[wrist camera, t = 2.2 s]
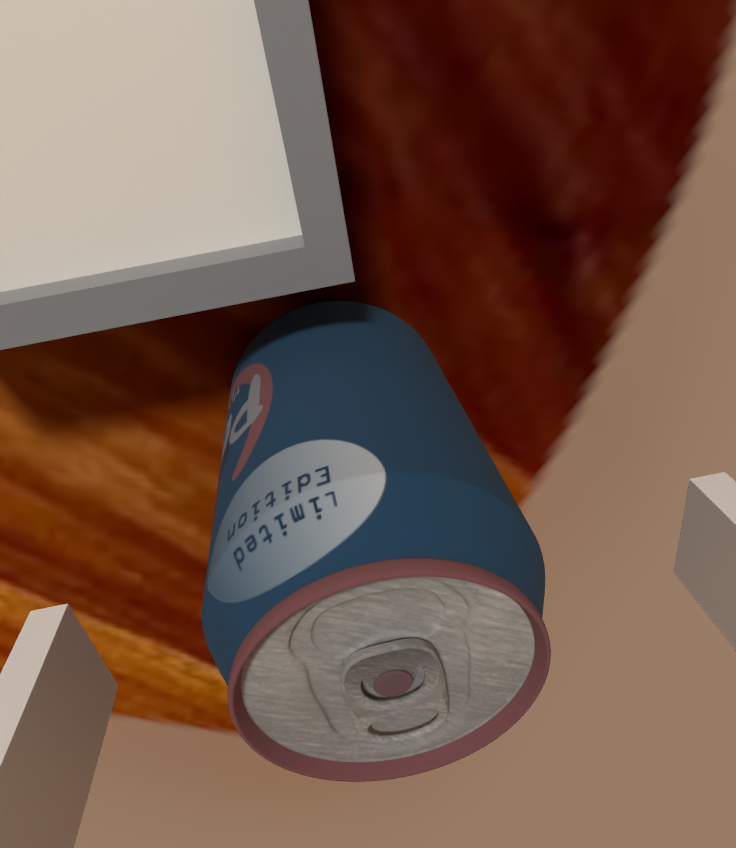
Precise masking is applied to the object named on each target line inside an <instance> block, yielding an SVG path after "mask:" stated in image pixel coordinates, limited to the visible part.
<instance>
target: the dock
mask: <svg viewBox="0 0 736 848" xmlns="http://www.w3.org/2000/svg"><path fill="white" fill-rule="evenodd" d="M354 281H355V277H354V271H353V265H352V259H351V253H350V247H349V241H348V235H347V229H346V223H345V217H344V211H343V205H342V199H341V193H340V187H339V181H338V175H337V169H336V163H335V157H334V151H333V145H332V139H331V133H330V127H329V121H328V115H327V109H326V103H325V97H324V91H323V85H322V79H321V73H320V67H319V61H318V55H317V49H316V43H315V37H314V31H313V25H312V19H311V13H310V7H309V1H308V0H0V350H3V349H8V348H13V347H19V346H24V345H29V344H34V343H39V342H44V341H50V340H55V339H60V338H65V337H70V336H75V335H80V334H86V333H91V332H96V331H101V330H106V329H111V328H117V327H122V326H127V325H132V324H137V323H142V322H148V321H153V320H158V319H163V318H168V317H173V316H178V315H184V314H189V313H194V312H199V311H204V310H209V309H215V308H220V307H225V306H230V305H235V304H240V303H246V302H251V301H256V300H261V299H266V298H271V297H276V296H282V295H287V294H292V293H297V292H302V291H307V290H313V289H318V288H323V287H328V286H333V285H338V284H344V283H349V282H354Z"/></svg>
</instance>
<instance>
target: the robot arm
mask: <svg viewBox="0 0 736 848" xmlns="http://www.w3.org/2000/svg"><path fill="white" fill-rule="evenodd" d="M674 573H675V575H676V576H677V577H678V579H679V580H680V581H681V582H682V584H683V585H684V586H685V587H686V589H687V590H688V591H689V592H690V594H691V595H692V596H693V597H694V599H695V600H696V601H697V603H698V604H699V605H700V606H701V608H702V609H703V610H704V611H705V613H706V614H707V615H708V616H709V618H710V619H711V620H712V622H713V623H714V624H715V625H716V627H717V628H718V629H719V630H720V632H721V633H722V634H723V636H724V637H725V638H726V639H727V641H728V642H729V643H730V644H731V646H732V647H733V648H734V650H735V651H736V482H735V481H734V480H733V479H732V478H731V477H730V476H729V475H727V474H726V473H725V472H723V473H717V474H713V475H708V476H702V477H697V478H692V479H690V480H689V485H688V491H687V497H686V502H685V508H684V514H683V520H682V527H681V532H680V538H679V544H678V549H677V555H676V561H675V567H674ZM117 689H118V685H117V683H116V681H115V680H114V678H113V676H112V675H111V673H110V671H109V670H108V668H107V667H106V665H105V663H104V662H103V660H102V658H101V657H100V655H99V654H98V652H97V650H96V649H95V647H94V645H93V644H92V642H91V640H90V639H89V637H88V636H87V634H86V632H85V631H84V629H83V627H82V626H81V624H80V622H79V621H78V619H77V618H76V616H75V614H74V613H73V611H72V609H71V608H70V606H69V604H64V605H59V606H54V607H49V608H44V609H39V610H34V611H30V613H29V616H28V618H27V620H26V622H25V624H24V626H23V628H22V630H21V632H20V634H19V636H18V638H17V641H16V643H15V645H14V647H13V649H12V651H11V653H10V655H9V657H8V659H7V661H6V663H5V666H4V668H3V670H2V672H1V674H0V848H74V844H75V841H76V837H77V834H78V830H79V826H80V823H81V819H82V815H83V812H84V808H85V804H86V801H87V797H88V794H89V790H90V786H91V783H92V779H93V776H94V772H95V768H96V765H97V761H98V757H99V754H100V750H101V747H102V743H103V739H104V736H105V732H106V729H107V725H108V721H109V718H110V714H111V710H112V707H113V703H114V700H115V696H116V692H117Z"/></svg>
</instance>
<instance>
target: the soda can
mask: <svg viewBox="0 0 736 848" xmlns="http://www.w3.org/2000/svg"><path fill="white" fill-rule="evenodd" d="M544 593H545V568H544V562H543V556H542V552H541V549H540V546H539V544H538V541H537V539H536V537H535V535H534V533H533V532H532V530H531V528H530V526H529V524H528V523H527V521H526V519H525V517H524V516H523V514H522V512H521V510H520V508H519V507H518V505H517V503H516V501H515V500H514V498H513V496H512V494H511V493H510V491H509V489H508V487H507V485H506V484H505V482H504V480H503V478H502V477H501V475H500V473H499V471H498V469H497V468H496V466H495V464H494V462H493V461H492V459H491V457H490V455H489V454H488V452H487V450H486V448H485V446H484V445H483V443H482V441H481V439H480V438H479V436H478V434H477V432H476V431H475V429H474V427H473V425H472V423H471V422H470V420H469V418H468V416H467V415H466V413H465V411H464V409H463V407H462V406H461V404H460V402H459V400H458V399H457V397H456V395H455V393H454V392H453V390H452V388H451V386H450V384H449V383H448V381H447V379H446V377H445V376H444V374H443V372H442V370H441V368H440V367H439V365H438V363H437V361H436V360H435V358H434V356H433V354H432V353H431V351H430V349H429V347H428V346H427V344H426V343H425V341H424V340H423V339H422V338H421V336H420V335H419V334H418V333H417V332H416V331H415V330H414V329H413V328H412V327H411V326H410V325H408V324H407V323H406V322H405V321H403V320H402V319H400V318H399V317H397V316H395V315H394V314H392V313H390V312H388V311H386V310H384V309H381V308H378V307H376V306H372V305H369V304H364V303H359V302H352V301H327V302H320V303H315V304H311V305H307V306H304V307H301V308H298V309H295V310H293V311H291V312H289V313H287V314H285V315H283V316H281V317H279V318H278V319H276V320H275V321H273V322H272V323H270V324H269V325H268V326H267V327H265V328H264V329H263V330H262V331H261V332H260V333H259V334H258V335H257V336H256V337H255V338H254V339H253V340H252V341H251V343H250V344H249V345H248V347H247V348H246V350H245V351H244V353H243V354H242V356H241V358H240V360H239V362H238V364H237V366H236V369H235V372H234V375H233V379H232V383H231V390H230V398H229V405H228V413H227V421H226V428H225V436H224V444H223V451H222V459H221V467H220V474H219V482H218V490H217V497H216V505H215V513H214V520H213V528H212V536H211V543H210V551H209V559H208V567H207V574H206V582H205V590H204V597H203V605H202V627H203V632H204V637H205V640H206V643H207V646H208V649H209V651H210V653H211V655H212V657H213V659H214V661H215V663H216V665H217V667H218V669H219V671H220V673H221V674H222V676H223V678H224V680H225V682H226V684H227V685H228V706H229V712H230V716H231V718H232V721H233V723H234V725H235V727H236V729H237V731H238V732H239V734H240V736H241V737H242V738H243V739H244V741H245V742H246V743H247V744H248V745H249V746H250V747H251V748H252V749H253V750H254V751H256V752H257V753H258V754H259V755H261V756H262V757H264V758H265V759H267V760H269V761H270V762H272V763H273V764H275V765H278V766H280V767H282V768H284V769H287V770H289V771H292V772H295V773H298V774H301V775H305V776H309V777H314V778H319V779H325V780H333V781H349V782H350V781H351V782H360V781H361V782H362V781H378V780H387V779H395V778H400V777H405V776H410V775H415V774H418V773H423V772H426V771H430V770H433V769H436V768H439V767H442V766H444V765H447V764H450V763H452V762H455V761H457V760H459V759H461V758H464V757H466V756H468V755H470V754H472V753H473V752H475V751H477V750H479V749H481V748H483V747H484V746H486V745H488V744H489V743H490V742H492V741H494V740H495V739H497V738H498V737H499V736H501V735H502V734H503V733H504V732H506V731H507V730H508V729H509V728H511V727H512V726H513V725H514V724H515V723H516V722H517V721H518V720H519V719H520V718H521V717H522V716H523V715H524V714H525V713H526V711H527V710H528V709H529V708H530V707H531V705H532V704H533V702H534V701H535V699H536V698H537V696H538V695H539V693H540V691H541V689H542V687H543V685H544V683H545V680H546V678H547V675H548V671H549V665H550V656H551V654H550V653H551V649H550V641H549V636H548V632H547V629H546V627H545V624H544V622H543V620H542V614H543V603H544Z"/></svg>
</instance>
